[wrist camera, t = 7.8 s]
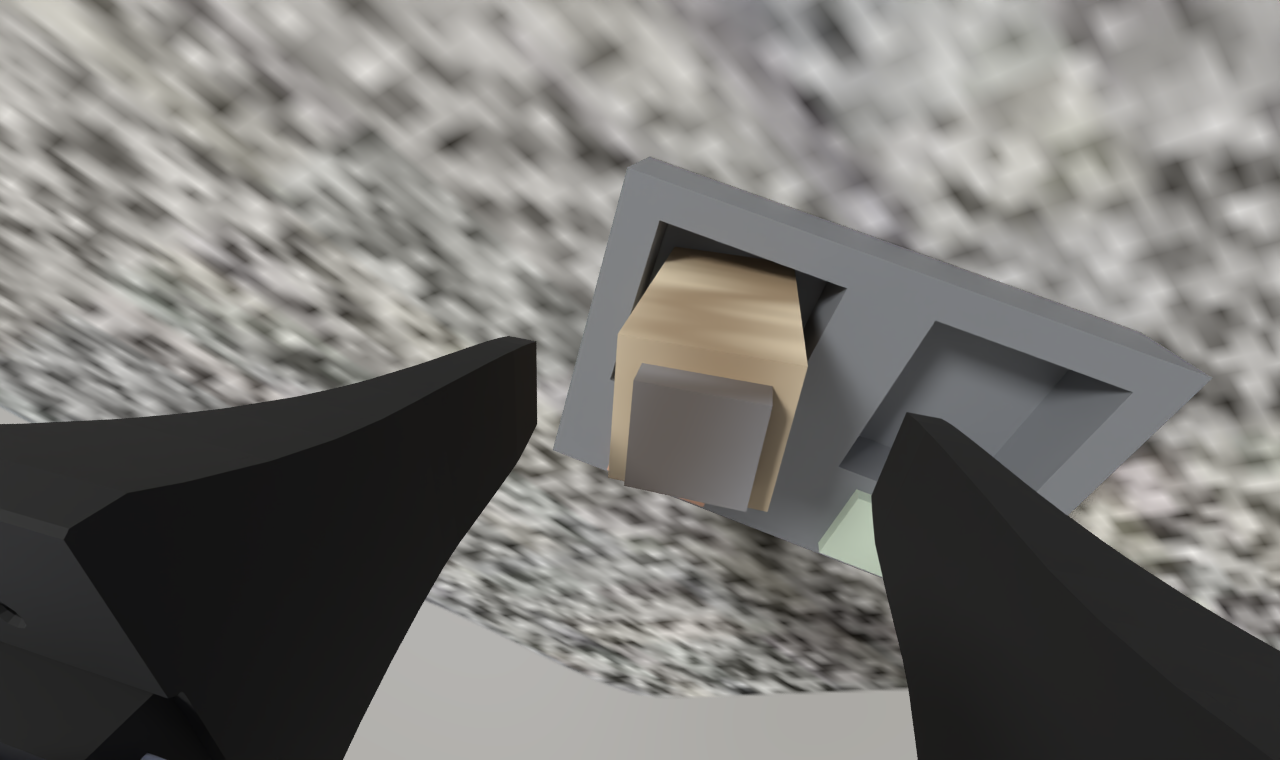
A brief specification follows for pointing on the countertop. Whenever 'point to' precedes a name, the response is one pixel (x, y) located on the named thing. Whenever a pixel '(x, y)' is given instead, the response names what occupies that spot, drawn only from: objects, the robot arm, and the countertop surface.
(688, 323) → the plug
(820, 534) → the port board
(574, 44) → the countertop surface
